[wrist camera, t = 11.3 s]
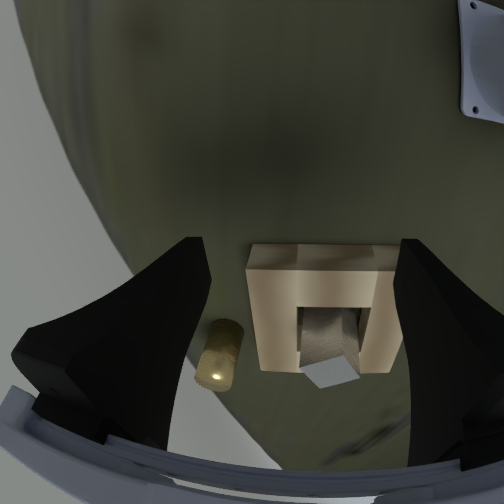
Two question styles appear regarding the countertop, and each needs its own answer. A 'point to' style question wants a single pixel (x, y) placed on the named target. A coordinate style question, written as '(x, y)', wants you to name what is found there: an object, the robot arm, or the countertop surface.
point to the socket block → (323, 298)
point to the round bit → (220, 355)
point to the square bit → (329, 345)
